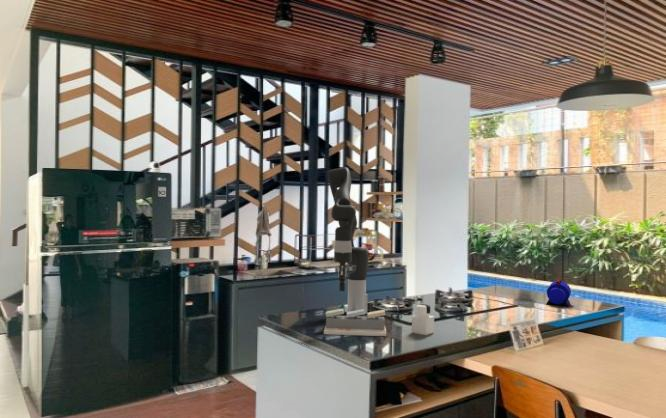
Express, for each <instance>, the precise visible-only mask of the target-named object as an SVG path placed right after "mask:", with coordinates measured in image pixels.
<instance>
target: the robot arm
mask: <svg viewBox="0 0 666 418" xmlns="http://www.w3.org/2000/svg"><path fill="white" fill-rule="evenodd" d="M326 175H327V181H328V184H329V187H330V193H331V195H332V198H333V202H334V204H333V207H332V210H331V218H332V220H333V221H335V222H338V225H339V226H338V227H336V228H335V230H334V232H335V233H334V234H335V235H334V249H333V251H334V253H333V256H334V257H333V261H334V262H335V263H338V264H339V265H337V273H338V274H337V275H338V276H337V277H338V282H339V292H345V290H346V287H345V286H346V279H347V311H346V313H347V312H350V311H356V310H361V309H364V315H365V314H367V313H368V294H367V275H368V270H369V268H368V267H369V253H368V249H366V248H363V247H355V245H354V244H355V243H354V234H355V232H356V229H357V226H358V219H357V215H356V214H357V210H356V208H355V206H353V205H351V204H352V203H351V187H352V175H351V171H350V169H349V168H348V167H347V166H344V167H340V168H339V167H338V168H334V169H330V170H328V171H327V174H326ZM346 264H347V265H349V266H353V267H354V266H355V270H354V271H351V272H349V273H348V275H347V272H348V271H347V270H348V266H347V265H346ZM346 277H347V278H346Z"/></svg>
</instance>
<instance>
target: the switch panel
mask: <svg viewBox="0 0 666 418" xmlns="http://www.w3.org/2000/svg"><path fill="white" fill-rule="evenodd" d="M378 317H379V318H378V319H376V318H375V317H372V318H368V316H365V315H358V317H357V318H355V317H354V316H353V317H347V315H337V317H333V316H329V317H325V326H324V330H323V335H338V336H364V337H365V336H367V337H369V336H370V337H371V336H372V337H374V336H375V337H387V328H386V325H385V323H386V322H385V321H386V320H385V316H378Z"/></svg>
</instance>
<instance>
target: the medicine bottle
mask: <svg viewBox="0 0 666 418" xmlns="http://www.w3.org/2000/svg"><path fill="white" fill-rule="evenodd" d="M415 314H416V315H412V316H411V333H412V334H415V335H422V336H428V335H430V334H434V333H435V316H434V315H431V306H430V305H428V304H424V303H419V304H416V306H415Z"/></svg>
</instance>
